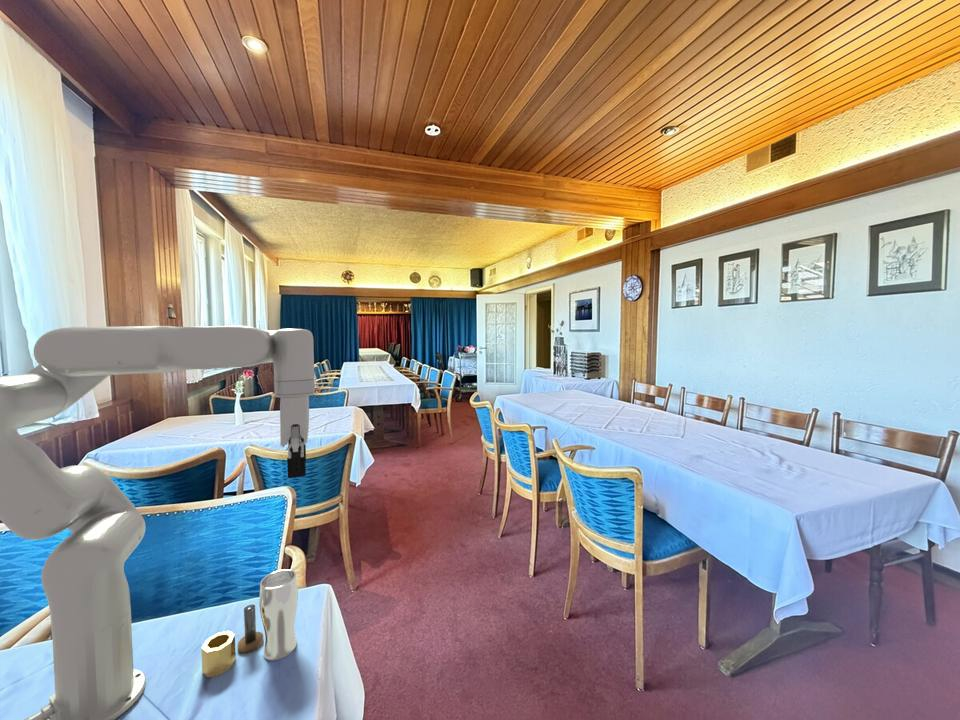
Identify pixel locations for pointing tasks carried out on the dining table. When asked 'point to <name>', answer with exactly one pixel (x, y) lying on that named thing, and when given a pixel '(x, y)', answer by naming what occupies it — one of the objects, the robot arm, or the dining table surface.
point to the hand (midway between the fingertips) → (297, 469)
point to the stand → (250, 632)
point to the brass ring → (218, 654)
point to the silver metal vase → (279, 613)
